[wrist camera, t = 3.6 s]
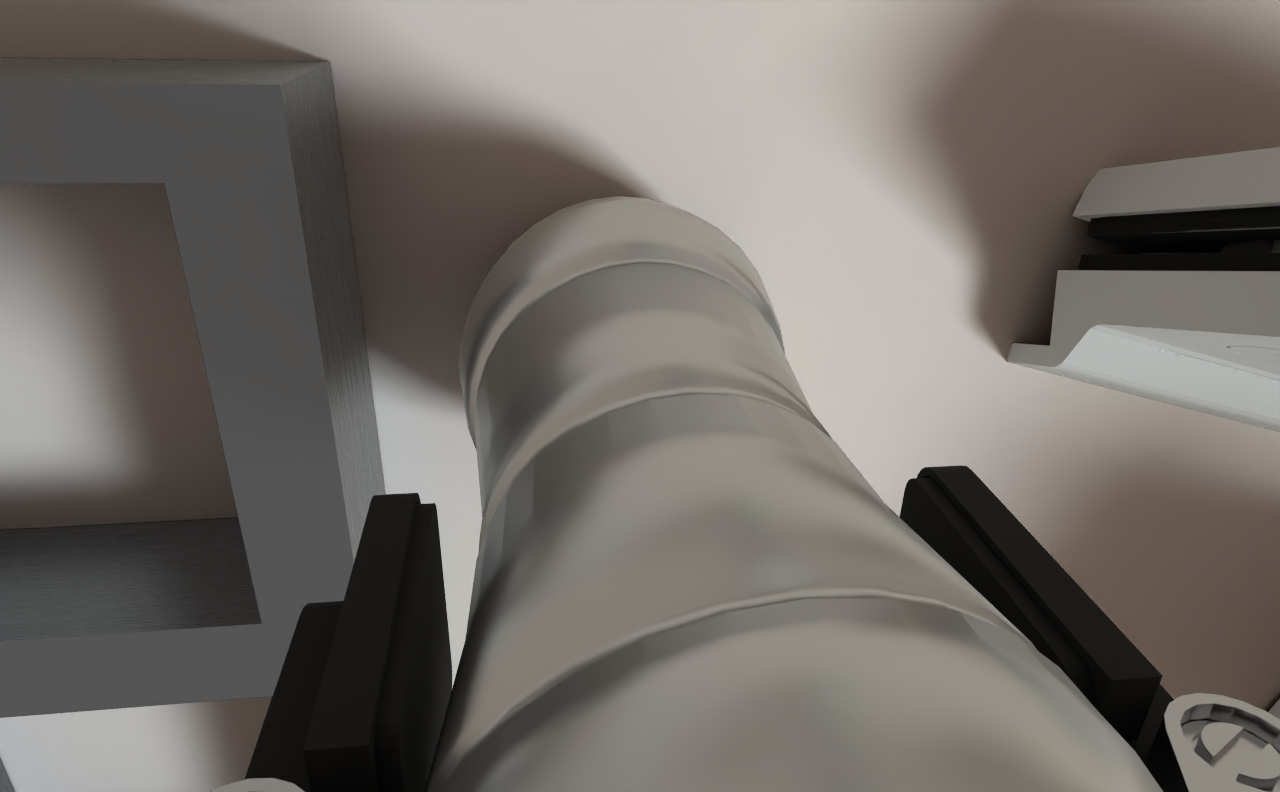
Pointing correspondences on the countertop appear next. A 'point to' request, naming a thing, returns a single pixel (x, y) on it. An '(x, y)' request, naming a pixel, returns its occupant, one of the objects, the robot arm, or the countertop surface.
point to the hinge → (1177, 287)
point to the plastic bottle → (711, 557)
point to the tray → (237, 375)
